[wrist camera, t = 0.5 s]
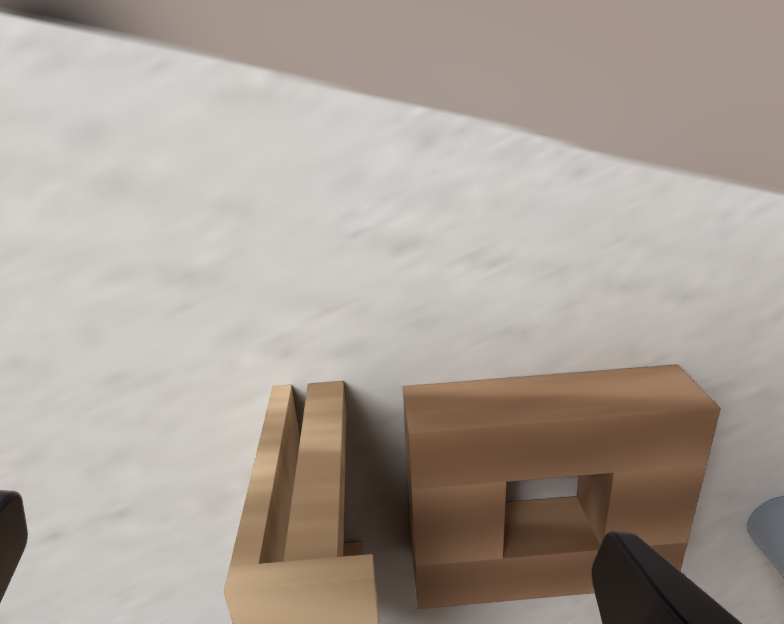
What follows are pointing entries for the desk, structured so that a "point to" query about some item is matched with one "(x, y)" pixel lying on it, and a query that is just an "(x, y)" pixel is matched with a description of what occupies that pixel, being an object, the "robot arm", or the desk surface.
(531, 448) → the socket station
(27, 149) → the desk surface
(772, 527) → the peg
